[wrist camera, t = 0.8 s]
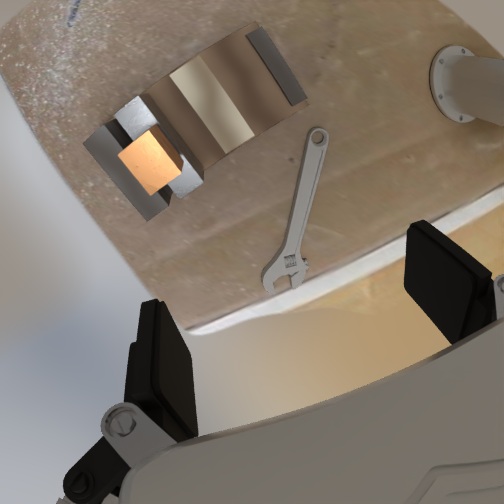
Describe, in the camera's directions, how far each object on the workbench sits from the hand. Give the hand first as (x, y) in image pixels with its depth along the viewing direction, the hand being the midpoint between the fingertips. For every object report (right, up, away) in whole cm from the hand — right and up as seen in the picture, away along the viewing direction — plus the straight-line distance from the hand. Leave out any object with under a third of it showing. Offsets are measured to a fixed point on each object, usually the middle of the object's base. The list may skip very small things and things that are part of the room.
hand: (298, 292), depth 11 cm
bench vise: (-8, +18, +24) cm, 31 cm away
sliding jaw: (-11, +14, +23) cm, 29 cm away
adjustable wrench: (+5, +6, +34) cm, 35 cm away
